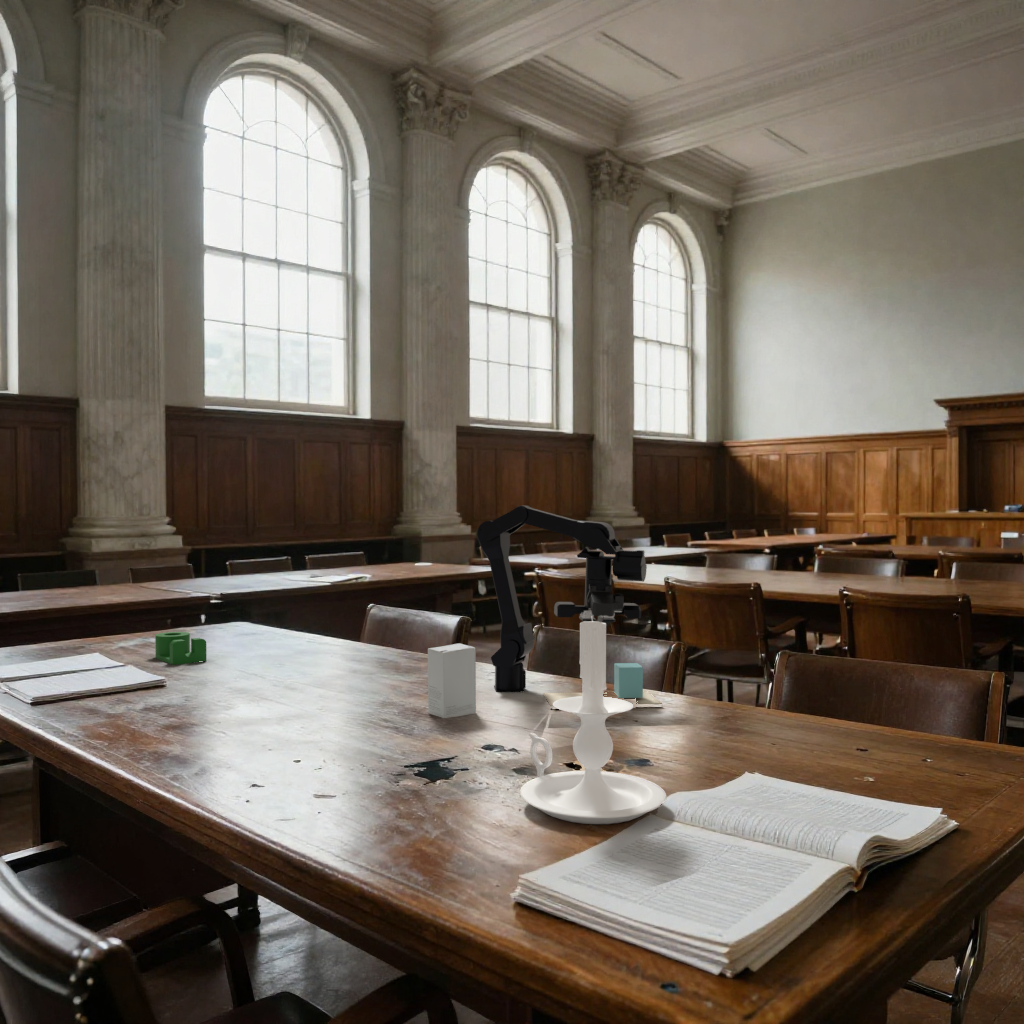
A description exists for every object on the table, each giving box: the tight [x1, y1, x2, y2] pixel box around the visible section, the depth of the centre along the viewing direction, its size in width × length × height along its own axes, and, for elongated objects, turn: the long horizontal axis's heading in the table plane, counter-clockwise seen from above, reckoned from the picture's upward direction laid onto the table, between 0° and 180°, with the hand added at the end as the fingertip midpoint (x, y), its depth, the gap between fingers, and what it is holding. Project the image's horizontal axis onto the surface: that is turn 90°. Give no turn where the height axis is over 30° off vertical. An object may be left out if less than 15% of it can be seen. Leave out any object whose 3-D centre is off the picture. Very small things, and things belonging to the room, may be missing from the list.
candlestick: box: [519, 616, 668, 825], centre depth 133 cm, size 21×25×28 cm
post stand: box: [542, 690, 663, 707], centre depth 202 cm, size 24×12×8 cm, turn 96°
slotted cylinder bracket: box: [155, 631, 207, 666], centre depth 256 cm, size 18×9×6 cm, turn 39°
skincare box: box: [427, 642, 477, 719], centre depth 186 cm, size 8×6×15 cm
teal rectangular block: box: [613, 662, 644, 698], centre depth 203 cm, size 5×5×7 cm
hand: (596, 648), depth 206 cm, fingers closed
